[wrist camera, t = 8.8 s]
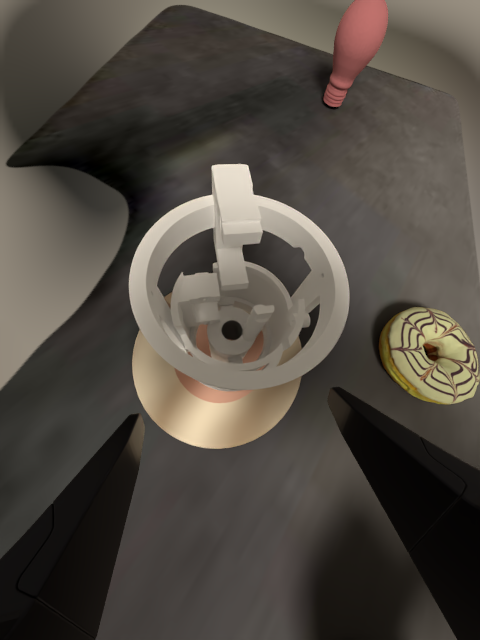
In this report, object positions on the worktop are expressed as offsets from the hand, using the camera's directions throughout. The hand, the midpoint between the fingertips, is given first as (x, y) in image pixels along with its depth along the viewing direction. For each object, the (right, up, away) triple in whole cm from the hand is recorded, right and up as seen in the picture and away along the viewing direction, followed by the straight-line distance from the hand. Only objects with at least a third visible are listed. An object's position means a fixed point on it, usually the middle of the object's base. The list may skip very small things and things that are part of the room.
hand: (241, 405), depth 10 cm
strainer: (-1, +1, +10) cm, 10 cm away
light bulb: (+17, +45, +30) cm, 57 cm away
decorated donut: (+21, 0, +16) cm, 26 cm away
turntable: (-2, +1, +11) cm, 11 cm away
